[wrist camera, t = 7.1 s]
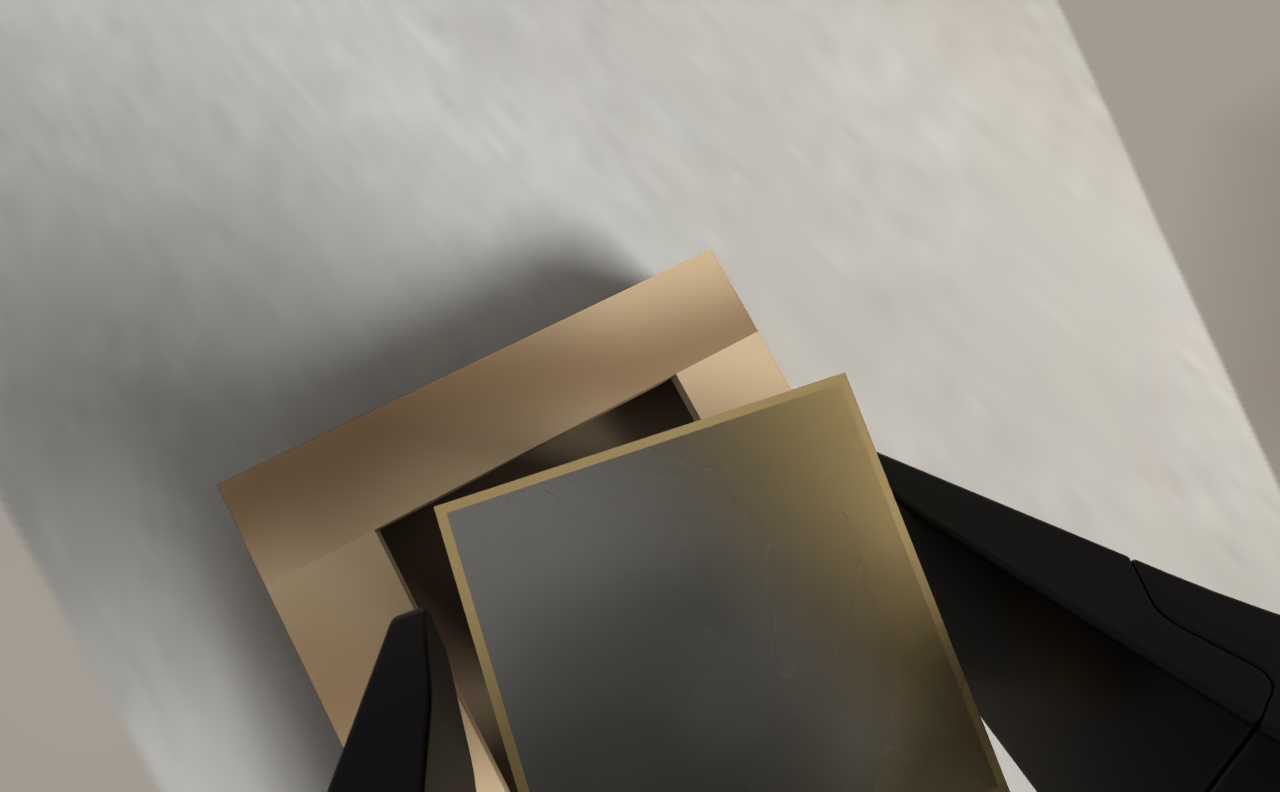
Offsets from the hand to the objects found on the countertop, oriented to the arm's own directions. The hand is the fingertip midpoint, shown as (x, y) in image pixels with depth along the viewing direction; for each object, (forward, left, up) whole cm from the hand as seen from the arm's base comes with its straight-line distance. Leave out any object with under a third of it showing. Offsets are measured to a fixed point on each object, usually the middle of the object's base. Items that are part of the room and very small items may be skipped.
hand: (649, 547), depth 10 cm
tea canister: (-1, 0, -11) cm, 11 cm away
